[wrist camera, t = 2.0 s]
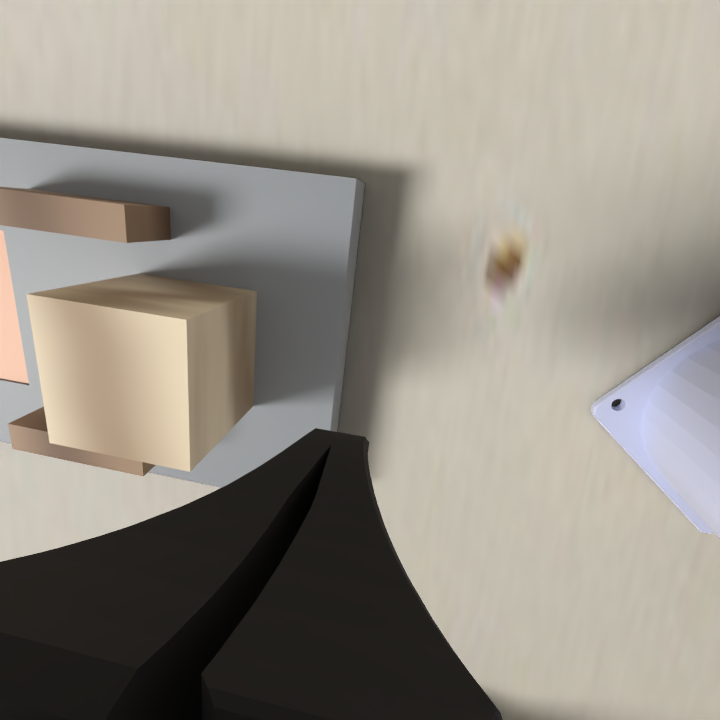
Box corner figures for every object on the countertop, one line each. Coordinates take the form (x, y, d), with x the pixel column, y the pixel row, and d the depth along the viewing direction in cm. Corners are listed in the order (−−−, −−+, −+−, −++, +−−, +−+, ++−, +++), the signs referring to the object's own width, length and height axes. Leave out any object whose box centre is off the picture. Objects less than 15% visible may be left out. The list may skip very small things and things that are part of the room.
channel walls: (169, 206, 16) (124, 204, 13) (178, 445, 19) (143, 476, 17) (28, 188, 16) (-39, 183, 14) (61, 421, 20) (12, 448, 18)
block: (257, 291, 16) (186, 319, 11) (253, 406, 18) (190, 471, 13) (139, 273, 17) (26, 293, 12) (146, 386, 18) (49, 442, 14)
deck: (365, 183, 16) (356, 178, 14) (331, 482, 21) (322, 508, 19) (-206, 117, 19) (-275, 106, 17) (-123, 391, 24) (-170, 405, 22)
